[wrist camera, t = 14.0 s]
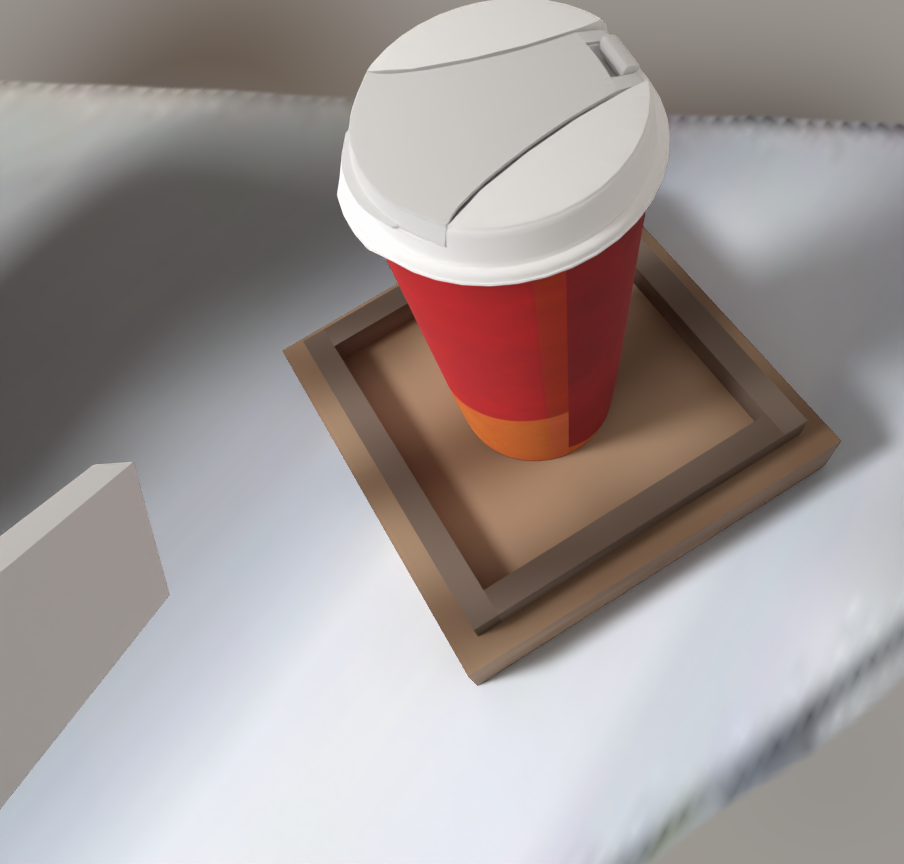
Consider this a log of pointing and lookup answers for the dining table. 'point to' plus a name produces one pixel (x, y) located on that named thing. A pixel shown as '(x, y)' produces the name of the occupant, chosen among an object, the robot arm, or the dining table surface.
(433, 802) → the dining table surface
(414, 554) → the walnut base plate
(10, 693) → the robot arm
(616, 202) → the coffee cup
